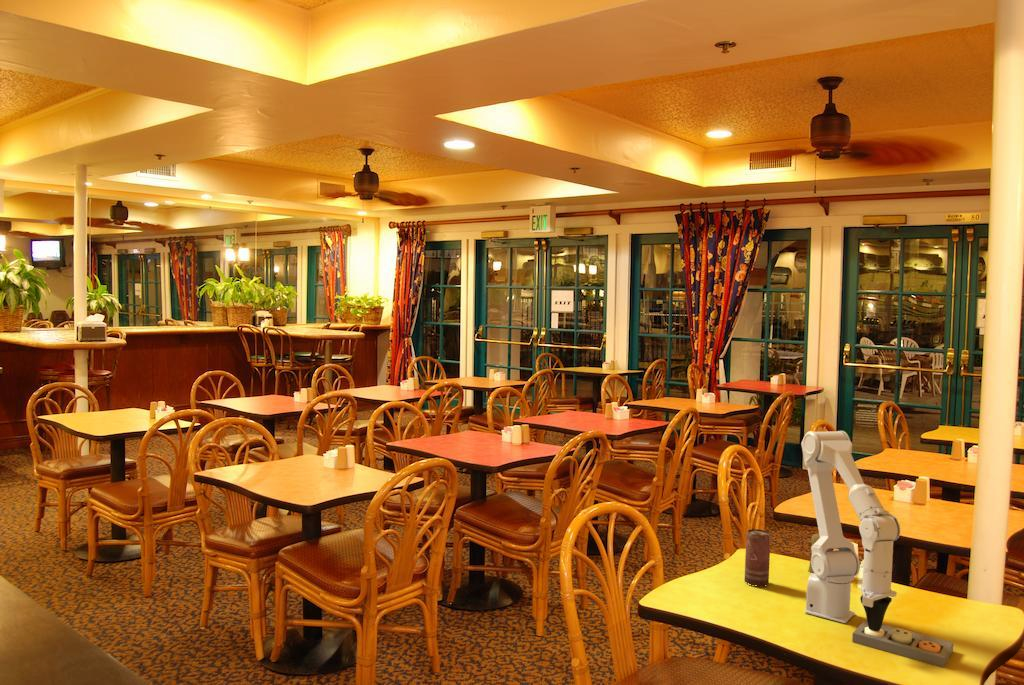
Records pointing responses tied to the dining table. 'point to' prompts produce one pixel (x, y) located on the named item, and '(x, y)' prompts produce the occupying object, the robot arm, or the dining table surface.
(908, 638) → the button two
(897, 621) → the dining table surface
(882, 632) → the button one
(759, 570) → the can
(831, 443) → the robot arm
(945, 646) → the button panel
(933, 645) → the button three
